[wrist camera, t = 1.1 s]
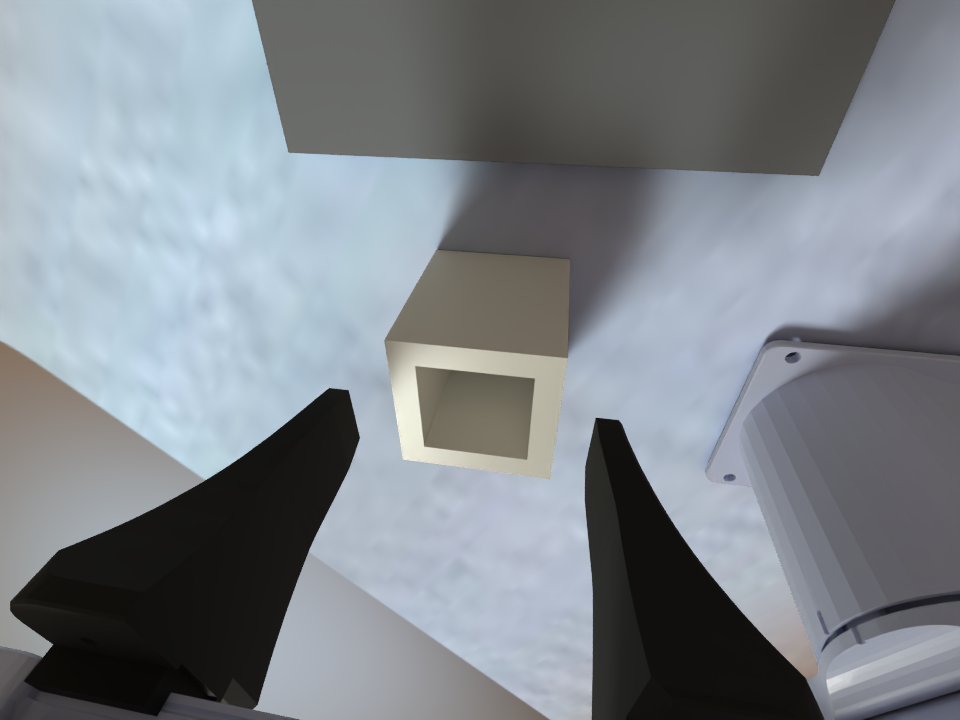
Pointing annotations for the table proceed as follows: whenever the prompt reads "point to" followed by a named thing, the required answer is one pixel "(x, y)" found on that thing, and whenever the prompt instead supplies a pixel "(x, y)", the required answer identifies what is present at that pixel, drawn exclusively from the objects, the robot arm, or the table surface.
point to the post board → (571, 79)
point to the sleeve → (482, 362)
